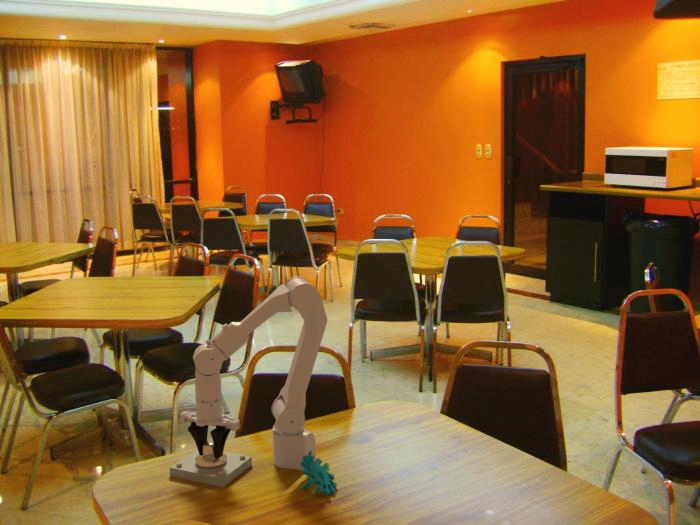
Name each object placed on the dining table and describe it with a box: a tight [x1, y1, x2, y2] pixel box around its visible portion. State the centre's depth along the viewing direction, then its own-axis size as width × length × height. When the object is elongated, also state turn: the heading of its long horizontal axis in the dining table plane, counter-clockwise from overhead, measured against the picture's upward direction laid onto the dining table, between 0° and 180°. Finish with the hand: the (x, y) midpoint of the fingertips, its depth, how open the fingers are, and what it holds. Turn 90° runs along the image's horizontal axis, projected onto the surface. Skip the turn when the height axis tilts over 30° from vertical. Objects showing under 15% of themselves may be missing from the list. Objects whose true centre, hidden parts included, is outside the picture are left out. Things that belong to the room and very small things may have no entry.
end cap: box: [195, 439, 227, 469], centre depth 172 cm, size 7×7×6 cm
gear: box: [301, 454, 338, 496], centre depth 165 cm, size 11×6×10 cm
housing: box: [169, 448, 253, 488], centre depth 172 cm, size 14×12×4 cm
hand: (211, 455), depth 172 cm, fingers closed on end cap, 4 cm apart
